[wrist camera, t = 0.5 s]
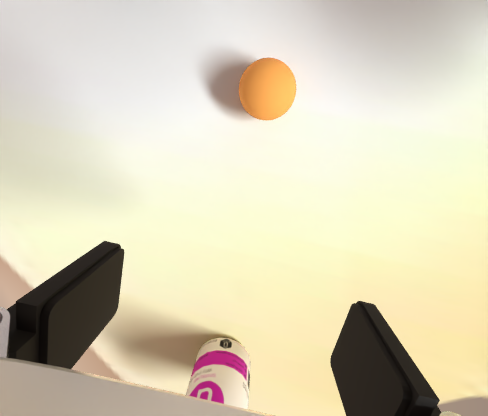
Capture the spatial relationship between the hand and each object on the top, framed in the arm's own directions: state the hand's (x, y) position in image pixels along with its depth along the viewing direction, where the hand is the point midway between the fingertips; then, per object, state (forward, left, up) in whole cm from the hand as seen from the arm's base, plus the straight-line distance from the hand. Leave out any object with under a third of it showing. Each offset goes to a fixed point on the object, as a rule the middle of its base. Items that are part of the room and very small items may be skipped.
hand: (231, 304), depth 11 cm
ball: (-7, -9, -21) cm, 24 cm away
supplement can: (+17, +21, -25) cm, 37 cm away
